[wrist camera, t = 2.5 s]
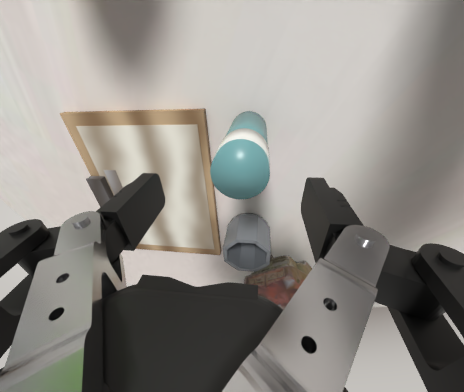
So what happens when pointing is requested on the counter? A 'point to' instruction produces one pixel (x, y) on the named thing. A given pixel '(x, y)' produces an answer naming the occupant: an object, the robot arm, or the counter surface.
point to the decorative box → (279, 279)
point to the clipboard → (154, 169)
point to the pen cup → (247, 243)
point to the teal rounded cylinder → (242, 158)
